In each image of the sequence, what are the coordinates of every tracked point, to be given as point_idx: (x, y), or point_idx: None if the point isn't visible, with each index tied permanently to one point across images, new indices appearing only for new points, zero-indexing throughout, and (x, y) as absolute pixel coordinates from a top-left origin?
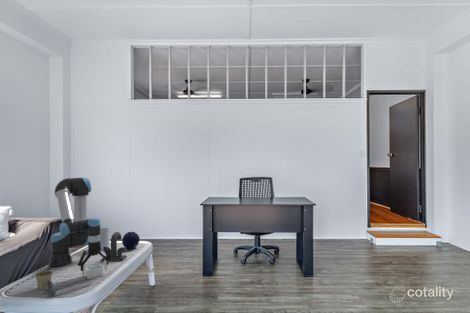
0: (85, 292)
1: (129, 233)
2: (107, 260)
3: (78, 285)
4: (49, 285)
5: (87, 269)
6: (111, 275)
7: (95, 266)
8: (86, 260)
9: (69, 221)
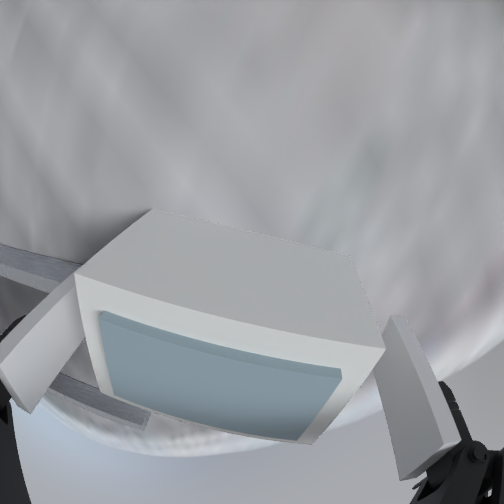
0: (110, 433)
1: None
2: (416, 486)
3: (66, 399)
4: None
5: (94, 372)
6: (349, 401)
7: (227, 407)
8: (16, 491)
9: None
